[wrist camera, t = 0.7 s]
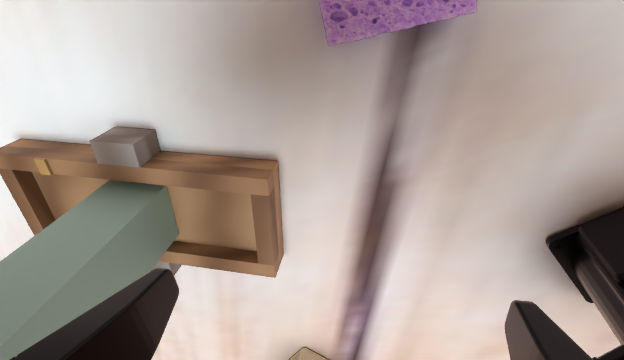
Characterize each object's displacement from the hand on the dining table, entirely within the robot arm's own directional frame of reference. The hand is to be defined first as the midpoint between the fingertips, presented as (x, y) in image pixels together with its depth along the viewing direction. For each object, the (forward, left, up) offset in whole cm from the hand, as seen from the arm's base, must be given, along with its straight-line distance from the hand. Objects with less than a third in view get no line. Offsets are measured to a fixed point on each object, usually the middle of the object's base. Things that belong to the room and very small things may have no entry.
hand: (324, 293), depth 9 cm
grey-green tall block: (+4, +16, -12) cm, 20 cm away
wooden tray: (+4, +16, -13) cm, 21 cm away
